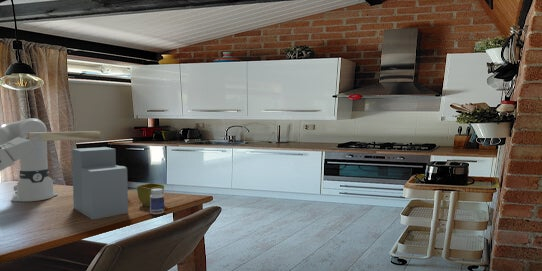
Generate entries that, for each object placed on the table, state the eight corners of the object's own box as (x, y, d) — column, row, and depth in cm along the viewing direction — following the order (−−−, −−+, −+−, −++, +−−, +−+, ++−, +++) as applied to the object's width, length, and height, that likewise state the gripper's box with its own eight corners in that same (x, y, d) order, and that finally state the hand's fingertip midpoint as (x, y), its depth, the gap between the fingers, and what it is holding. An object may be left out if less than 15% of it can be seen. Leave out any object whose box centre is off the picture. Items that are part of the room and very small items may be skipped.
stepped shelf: (73, 208, 159) (71, 149, 158) (106, 202, 169) (105, 147, 168) (92, 219, 142) (90, 153, 141) (128, 212, 152) (126, 151, 150)
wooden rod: (27, 140, 133) (27, 132, 133) (96, 138, 149) (96, 131, 149) (30, 141, 130) (30, 133, 130) (100, 139, 147) (100, 131, 146)
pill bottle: (166, 212, 153) (166, 189, 152) (154, 215, 148) (154, 191, 148) (159, 210, 157) (159, 187, 156) (147, 212, 152) (147, 189, 152)
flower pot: (165, 204, 167) (164, 184, 166) (149, 208, 159) (149, 188, 159) (151, 201, 171) (151, 182, 171) (136, 205, 164) (136, 186, 163)
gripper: (0, 160, 134) (38, 141, 142) (10, 167, 120) (51, 144, 128) (-11, 146, 132) (28, 127, 140) (-2, 151, 117) (41, 129, 125)
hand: (39, 135), depth 133 cm, fingers closed on wooden rod, 4 cm apart
